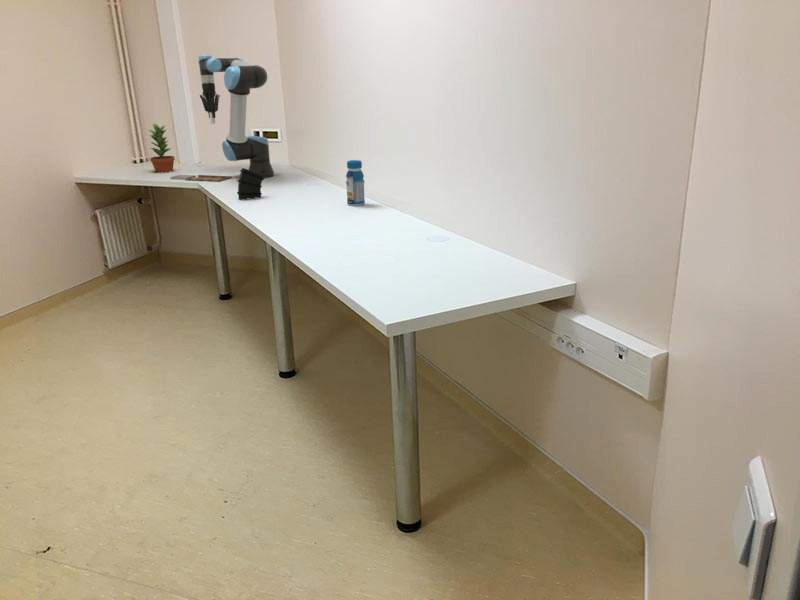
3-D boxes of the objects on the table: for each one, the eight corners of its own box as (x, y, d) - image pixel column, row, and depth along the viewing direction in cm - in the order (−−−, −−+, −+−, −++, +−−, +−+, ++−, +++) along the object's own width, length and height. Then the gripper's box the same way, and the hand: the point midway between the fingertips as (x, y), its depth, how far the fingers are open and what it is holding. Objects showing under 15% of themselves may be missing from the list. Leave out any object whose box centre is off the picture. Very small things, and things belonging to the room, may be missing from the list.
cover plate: (196, 179, 367) (195, 175, 366) (186, 182, 359) (186, 178, 358) (180, 179, 371) (179, 174, 370) (170, 181, 363) (170, 177, 362)
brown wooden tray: (232, 179, 362) (232, 176, 361) (219, 183, 350) (219, 180, 349) (199, 178, 369) (198, 174, 368) (185, 182, 357) (184, 178, 356)
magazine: (231, 196, 306) (241, 167, 304) (255, 204, 314) (265, 176, 313) (234, 197, 303) (243, 168, 302) (258, 205, 311) (268, 177, 310)
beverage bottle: (362, 206, 286) (361, 162, 279) (345, 206, 288) (342, 162, 281) (366, 202, 294) (365, 159, 287) (349, 202, 296) (347, 159, 288)
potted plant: (165, 174, 386) (157, 124, 376) (147, 172, 392) (139, 123, 382) (182, 170, 399) (175, 122, 388) (165, 169, 405) (157, 121, 394)
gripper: (195, 83, 370) (200, 124, 378) (213, 82, 366) (218, 124, 374) (202, 82, 376) (207, 122, 385) (221, 82, 372) (225, 123, 381)
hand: (213, 123), depth 379 cm, fingers closed
